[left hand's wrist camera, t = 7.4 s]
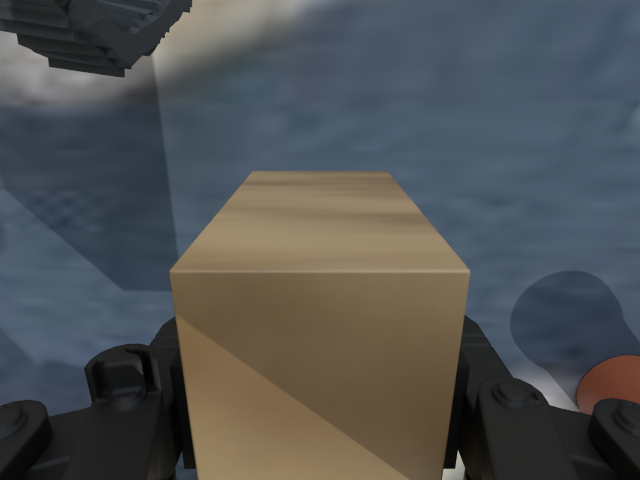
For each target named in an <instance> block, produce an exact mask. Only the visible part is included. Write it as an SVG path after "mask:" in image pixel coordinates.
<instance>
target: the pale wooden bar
mask: <svg viewBox="0 0 640 480" xmlns="http://www.w3.org/2000/svg"><path fill="white" fill-rule="evenodd" d="M169 274H170V282H171V289H172V296H173V304H174V311H175V318H176V325H177V333H178V340H179V347H180V354H181V362H182V369H183V376H184V383H185V391H186V398H187V405H188V412H189V420H190V427H191V434H192V442H193V449H194V456H195V463H196V471H197V478H198V480H442V475H443V467H444V460H445V453H446V445H447V438H448V431H449V424H450V416H451V409H452V402H453V395H454V387H455V380H456V373H457V366H458V358H459V351H460V344H461V336H462V329H463V322H464V315H465V307H466V300H467V293H468V286H469V278H470V270H469V269H468V267H467V266H466V265H465V264H464V263H463V261H462V260H461V259H460V258H459V257H458V255H457V254H456V253H455V252H454V251H453V249H452V248H451V247H450V246H449V245H448V243H447V242H446V241H445V240H444V239H443V237H442V236H441V235H440V234H439V233H438V231H437V230H436V229H435V228H434V227H433V225H432V224H431V223H430V222H429V221H428V219H427V218H426V217H425V216H424V215H423V213H422V212H421V211H420V210H419V209H418V207H417V206H416V205H415V204H414V203H413V201H412V200H411V199H410V198H409V197H408V195H407V194H406V193H405V192H404V191H403V189H402V188H401V187H400V186H399V185H398V183H397V182H396V181H395V180H394V179H393V177H392V176H391V175H390V174H389V173H388V172H387V171H252V172H251V174H250V175H249V176H248V177H247V178H246V180H245V181H244V182H243V183H242V184H241V186H240V187H239V188H238V189H237V190H236V191H235V193H234V194H233V195H232V196H231V197H230V199H229V200H228V201H227V202H226V203H225V205H224V206H223V207H222V208H221V209H220V211H219V212H218V213H217V214H216V215H215V217H214V218H213V219H212V220H211V221H210V223H209V224H208V225H207V226H206V227H205V229H204V230H203V231H202V232H201V233H200V235H199V236H198V237H197V238H196V239H195V241H194V242H193V243H192V244H191V245H190V247H189V248H188V249H187V250H186V251H185V253H184V254H183V255H182V256H181V257H180V259H179V260H178V261H177V262H176V263H175V264H174V266H173V267H172V268H171V269H170V271H169Z"/></svg>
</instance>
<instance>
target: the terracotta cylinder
mask: <svg viewBox="0 0 640 480" xmlns="http://www.w3.org/2000/svg"><path fill="white" fill-rule="evenodd" d="M608 398H616V399H624V400H628V401H632V402H635V403H638V404H640V356H636V355H622V356H617V357H613V358H610V359H608V360H605V361H603V362H601V363H599V364H598V365H596V366H595V367H594V368H592V369H591V370H590V371H589V372H588V373H587V374H586V375H585V376H584V377H583V379H582V380H581V382H580V384H579V386H578V389H577V394H576V401H577V405H578V408H579V409H580V411H581V412H582V413H583V414H588V415H592V411H593V408H594V405H595V404H596V403H597V402H598V401H599V400H602V399H608Z"/></svg>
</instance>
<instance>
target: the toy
mask: <svg viewBox="0 0 640 480" xmlns="http://www.w3.org/2000/svg"><path fill="white" fill-rule="evenodd" d="M190 7H192V0H0V31H6V32H11V33H16V34H17V39H18V44H20V45H22V46H24V47H27V48H29V49H31V50H32V51H34V52H35V53H38V54H40V55H43V56H45V57H48V61H49V67H54V68H61V69H68V70H74V71H81V72H88V73H95V74H102V75H108V76H115V77H125V71H124V68H125V69H131V66H132V65H133V64H134V63H135V62H136V61H137V60H138V59H139V58H140V57H141V56H142V55H145V56H150V55H151V54H152V53H153V51H154V50H155V49H156V47H157V45H158V43H159V44H160V40H161V38H165V33H166V32H169V28H170V27H171V26H172V25H173V24H174V23H175V22H176V21H178V20H179V19H180V17H181V15H182V13H183V12H189V13H190Z"/></svg>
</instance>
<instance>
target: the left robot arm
mask: <svg viewBox="0 0 640 480" xmlns="http://www.w3.org/2000/svg"><path fill="white" fill-rule="evenodd" d="M84 369H85V374H86V378H87V382H88V386H89V391H90V395H91V399H92V404H91V407H88V408H85V409H82V410H78V411H73V412H69V413H64V414H60V415H55V416H51V417H49V416H48V412H47V409H46V407H45V406H44V405H43V404H42V403H41V402H39V401H33V400H23V401H15V402H12V403H8V404H5V405H2V406H0V480H177V479H176V472H175V467H176V465H177V462H178V460H179V457H180V454H181V452H182V454H183V461H184V467H185V469H196V463H195V456H194V449H193V442H192V434H191V427H190V420H189V412H188V405H187V398H186V391H185V383H184V376H183V369H182V362H181V354H180V347H179V340H178V333H177V325H176V318H175V317H173V318H172V319H171V320H169V321H168V322H166V323H165V324H164V325H163V326H162V327H161V329H160V330H159V332H158V333H157V335H156V336H155V339H153V341H152V342H151V344H150V345H149V346H147V345H143V344H125V345H121V346H116V347H113V348H111V349H108V350H106V351H103V352H101V353H100V354H98V355H97V356H95V357H94V358H92V359H91V360H90V361H89V362H88V364H87V365H86V366H85V367H84ZM458 451H459V453H460V456H461V458H462V461H463V464H464V466H465V472H464V478H463V480H640V404H638V403H635V402H632V401H628V400H624V399H616V398H608V399H602V400H599V401H598V402H597V403H596V404H595V405H594V408H593V411H592V415H588V414H583V413H579V412H574V411H570V410H565V409H561V408H557V407H554V406H551V405H549V404H548V401H547V400H546V399H545V397H544V396H543V394H542V393H541V392H540V391H539V390H537V389H536V388H535V387H533V386H532V385H530V384H528V383H526V382H524V381H522V380H520V379H517V378H513V377H512V375H511V374H510V372H509V371H508V369H507V368H506V366H505V365H504V363H503V362H502V360H501V359H500V357H499V356H498V354H497V353H496V351H495V350H494V348H493V347H491V344H490V342H489V341H488V339H487V338H486V337H485V335H484V333H483V332H482V330H481V329H480V327H479V326H478V324H477V323H475V322H474V321H473V320H471V319H470V318H468V317H467V316H465V315H464V322H463V329H462V336H461V344H460V351H459V358H458V366H457V373H456V380H455V387H454V395H453V402H452V409H451V416H450V424H449V431H448V438H447V445H446V453H445V460H444V467H443V469H455V465H456V459H457V452H458Z"/></svg>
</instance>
